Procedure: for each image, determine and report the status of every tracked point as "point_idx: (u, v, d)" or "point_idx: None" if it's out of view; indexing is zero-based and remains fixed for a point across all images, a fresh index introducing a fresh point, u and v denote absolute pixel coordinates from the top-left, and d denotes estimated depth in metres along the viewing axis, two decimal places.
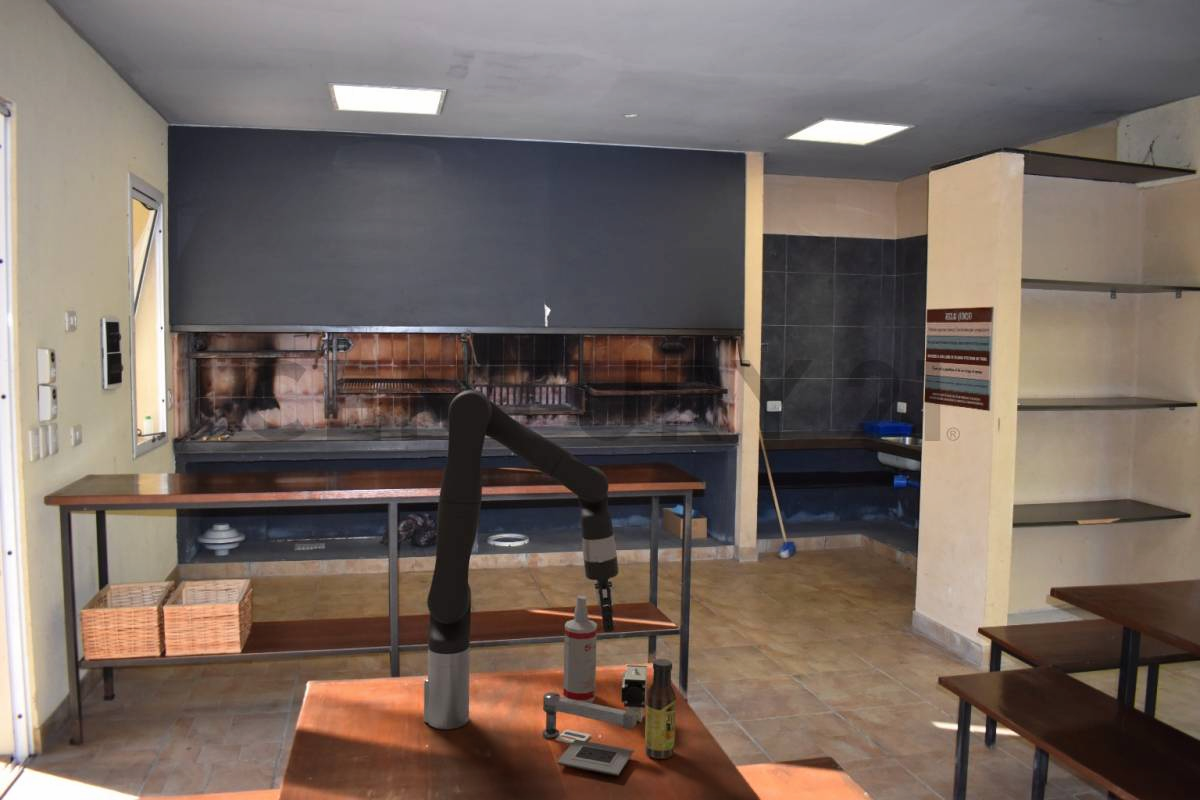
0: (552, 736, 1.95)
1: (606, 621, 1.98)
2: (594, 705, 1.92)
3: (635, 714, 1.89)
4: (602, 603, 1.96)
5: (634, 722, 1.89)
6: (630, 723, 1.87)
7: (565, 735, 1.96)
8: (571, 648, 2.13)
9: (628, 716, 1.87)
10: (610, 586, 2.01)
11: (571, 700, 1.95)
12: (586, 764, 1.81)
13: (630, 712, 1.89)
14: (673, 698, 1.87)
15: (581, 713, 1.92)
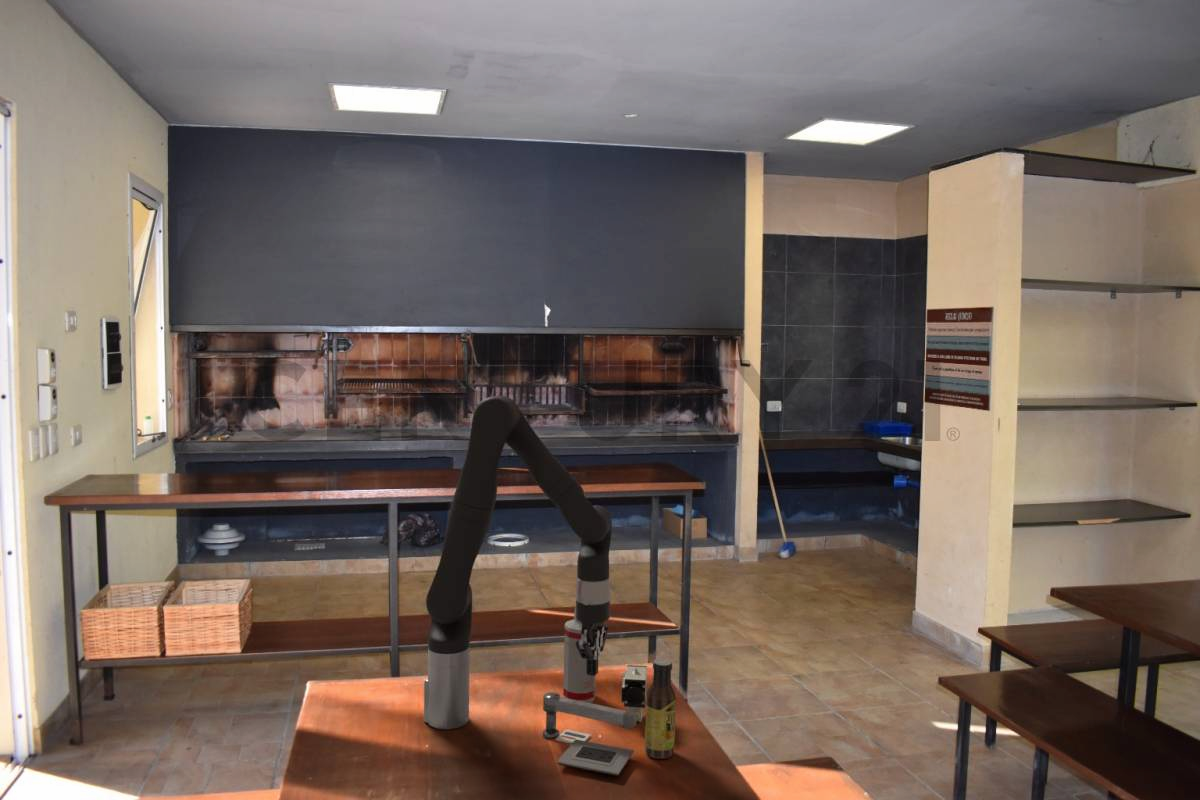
0: (552, 736, 1.95)
1: (588, 664, 1.97)
2: (594, 705, 1.92)
3: (635, 714, 1.89)
4: (580, 651, 1.94)
5: (634, 722, 1.89)
6: (630, 723, 1.87)
7: (565, 735, 1.96)
8: (571, 648, 2.13)
9: (628, 716, 1.87)
10: (595, 633, 1.95)
11: (571, 700, 1.95)
12: (586, 764, 1.81)
13: (630, 712, 1.89)
14: (673, 698, 1.87)
15: (581, 713, 1.92)
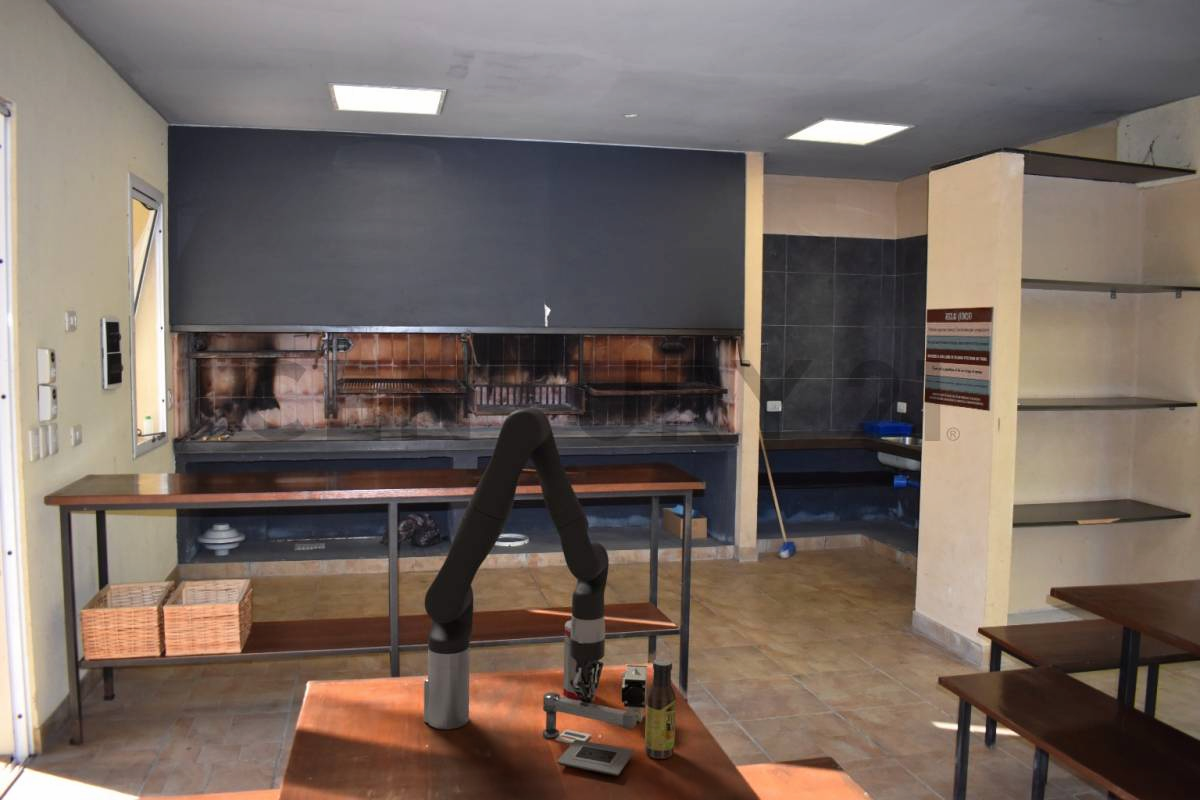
0: (552, 736, 1.95)
1: None
2: (594, 705, 1.92)
3: (635, 714, 1.89)
4: (575, 690, 1.92)
5: (634, 722, 1.89)
6: (630, 723, 1.87)
7: (565, 735, 1.96)
8: None
9: (628, 716, 1.87)
10: (590, 671, 1.93)
11: (571, 700, 1.95)
12: (586, 764, 1.81)
13: (630, 712, 1.89)
14: (673, 698, 1.87)
15: (581, 713, 1.92)
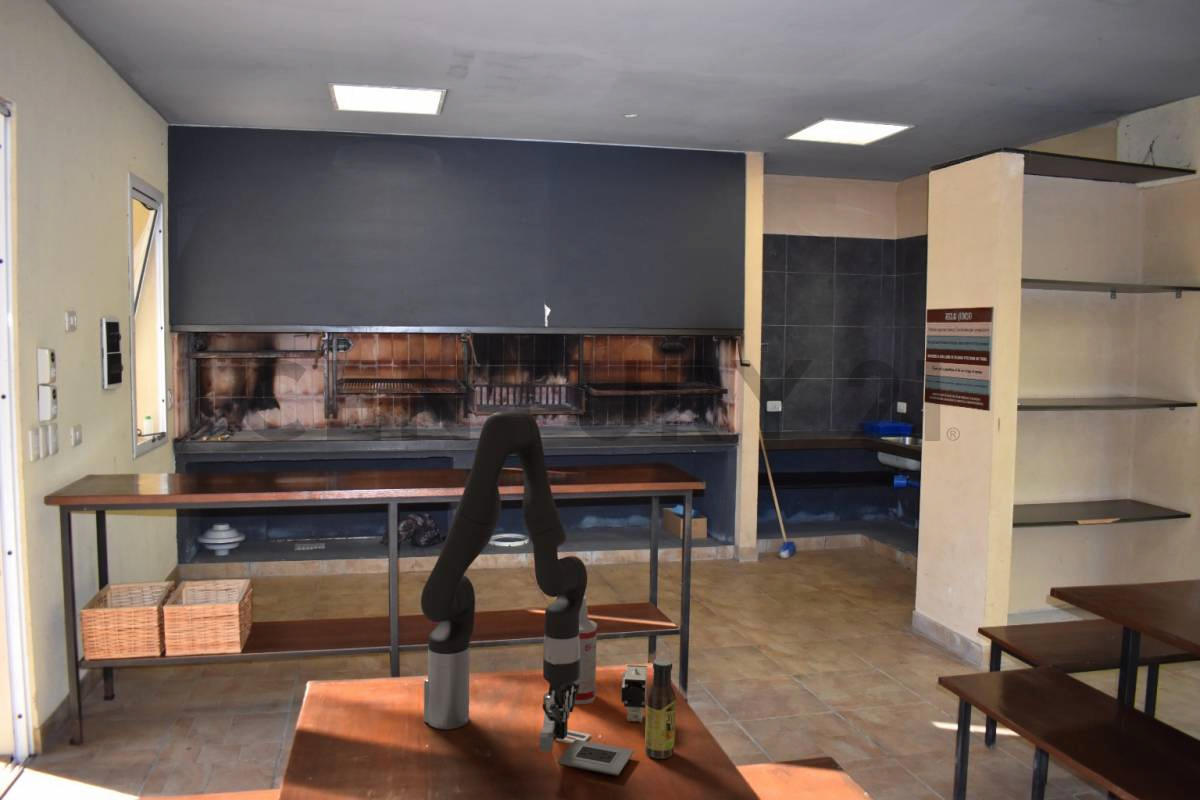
0: None
1: (556, 727, 1.83)
2: None
3: (549, 739, 1.77)
4: (548, 714, 1.80)
5: (547, 746, 1.77)
6: None
7: None
8: None
9: None
10: (564, 694, 1.81)
11: None
12: (586, 764, 1.81)
13: (547, 735, 1.78)
14: (673, 698, 1.87)
15: None
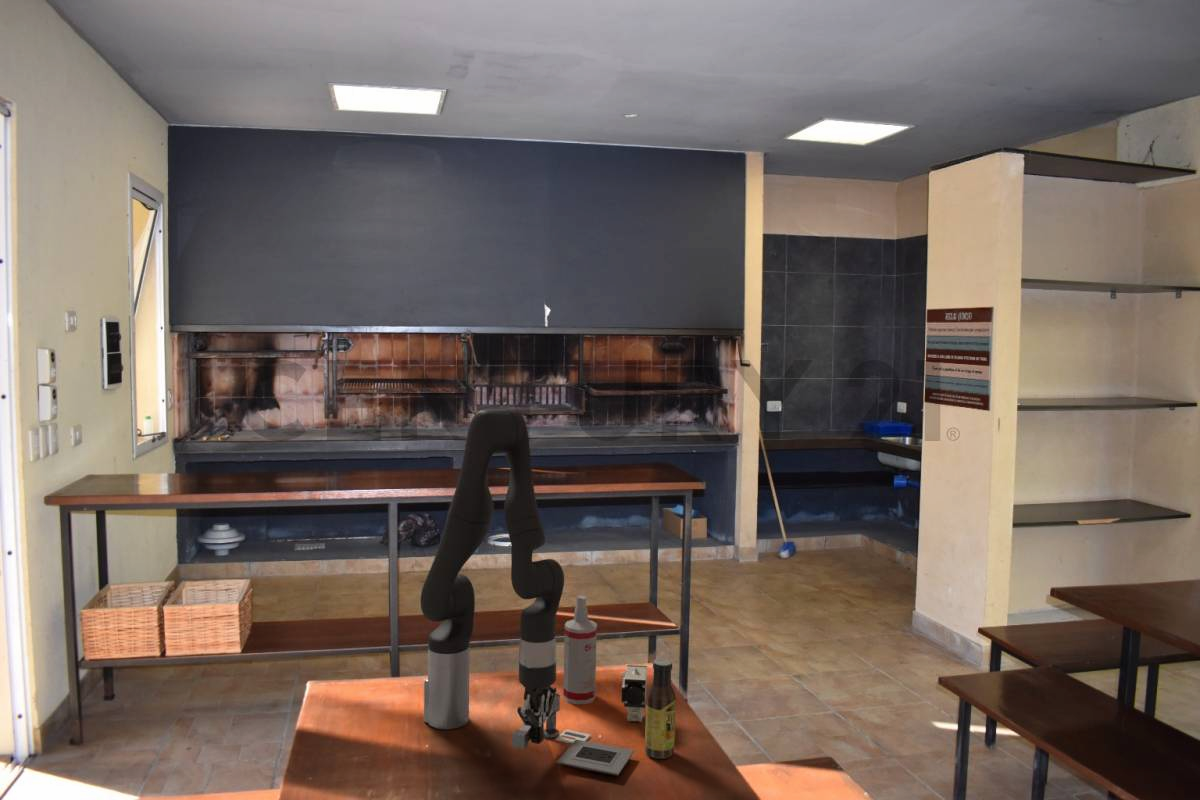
0: (552, 736, 1.95)
1: (532, 731, 1.81)
2: None
3: (521, 737, 1.77)
4: (523, 719, 1.78)
5: (519, 744, 1.78)
6: None
7: (565, 735, 1.96)
8: (571, 648, 2.13)
9: None
10: (539, 698, 1.79)
11: None
12: (586, 764, 1.81)
13: (521, 732, 1.78)
14: (673, 698, 1.87)
15: None
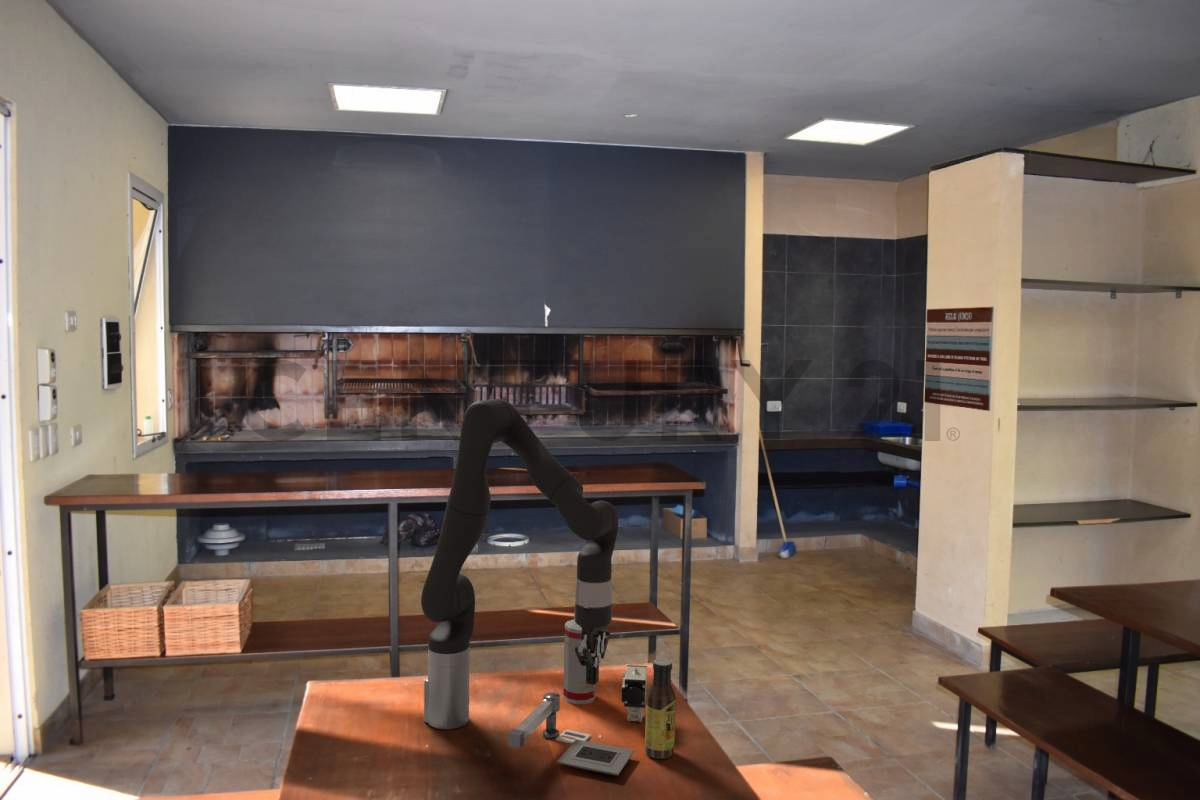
0: (552, 736, 1.95)
1: (588, 672, 1.82)
2: (534, 716, 1.87)
3: (517, 736, 1.78)
4: (580, 658, 1.79)
5: (514, 743, 1.78)
6: None
7: (565, 735, 1.96)
8: (571, 648, 2.13)
9: None
10: (596, 639, 1.80)
11: (545, 705, 1.92)
12: (586, 764, 1.81)
13: (517, 732, 1.79)
14: (673, 698, 1.87)
15: None
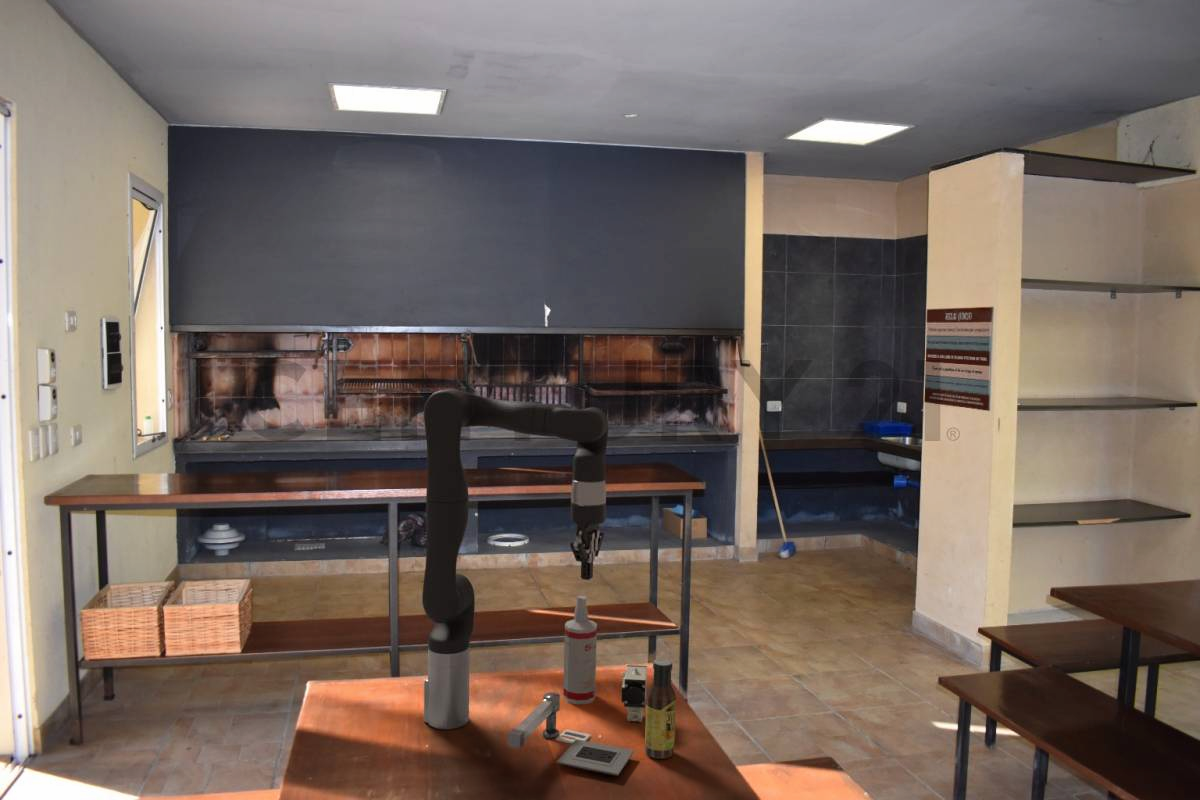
0: (552, 736, 1.95)
1: (583, 568, 1.94)
2: (534, 716, 1.87)
3: (517, 736, 1.78)
4: (575, 553, 1.91)
5: (514, 743, 1.78)
6: None
7: (565, 735, 1.96)
8: (571, 648, 2.13)
9: None
10: (590, 535, 1.92)
11: (545, 705, 1.92)
12: (586, 764, 1.81)
13: (517, 732, 1.79)
14: (673, 698, 1.87)
15: None
